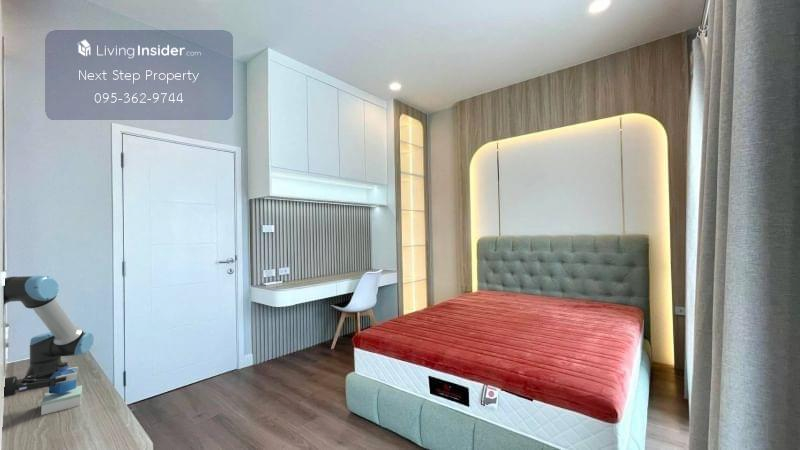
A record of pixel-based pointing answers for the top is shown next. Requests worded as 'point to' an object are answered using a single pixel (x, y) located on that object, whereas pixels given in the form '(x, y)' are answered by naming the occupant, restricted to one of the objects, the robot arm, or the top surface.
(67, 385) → the perfume bottle
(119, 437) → the top surface
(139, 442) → the top surface
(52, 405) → the mint green square block
